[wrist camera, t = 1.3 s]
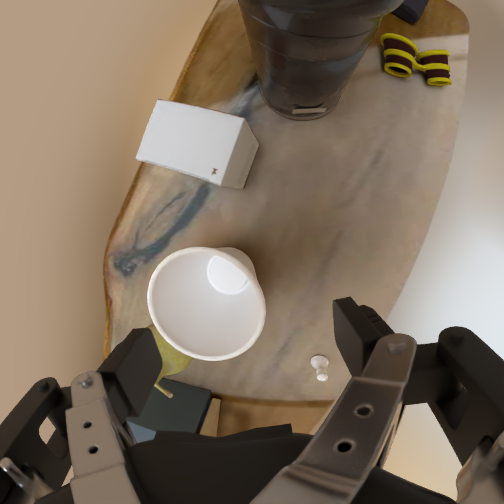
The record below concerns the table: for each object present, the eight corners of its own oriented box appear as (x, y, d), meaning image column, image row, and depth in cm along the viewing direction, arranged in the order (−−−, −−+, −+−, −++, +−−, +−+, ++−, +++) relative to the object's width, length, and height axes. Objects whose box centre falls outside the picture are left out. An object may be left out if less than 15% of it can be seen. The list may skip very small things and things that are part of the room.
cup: (190, 308, 33) (153, 353, 23) (187, 228, 31) (142, 244, 21) (270, 314, 32) (263, 366, 22) (273, 231, 30) (268, 249, 20)
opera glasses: (378, 75, 26) (392, 66, 21) (375, 40, 24) (388, 27, 19) (440, 91, 25) (460, 86, 20) (437, 57, 23) (455, 49, 18)
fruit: (148, 311, 34) (99, 356, 22) (201, 315, 33) (165, 369, 22) (156, 354, 35) (116, 405, 24) (206, 360, 35) (178, 420, 23)
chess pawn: (307, 363, 33) (308, 381, 29) (315, 351, 33) (318, 369, 29) (323, 370, 33) (326, 388, 29) (331, 359, 33) (336, 377, 29)
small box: (260, 144, 29) (248, 117, 18) (243, 191, 30) (222, 187, 20) (195, 125, 29) (156, 96, 19) (178, 169, 30) (133, 159, 20)
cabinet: (210, 390, 36) (190, 442, 25) (207, 436, 38) (191, 482, 28) (122, 364, 37) (86, 402, 26) (129, 412, 39) (103, 450, 29)
